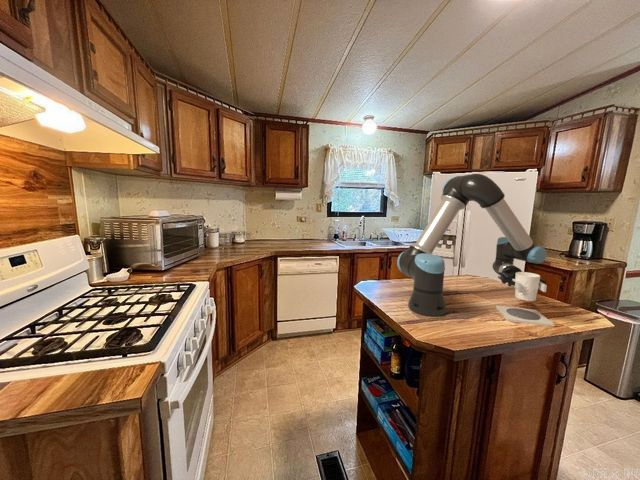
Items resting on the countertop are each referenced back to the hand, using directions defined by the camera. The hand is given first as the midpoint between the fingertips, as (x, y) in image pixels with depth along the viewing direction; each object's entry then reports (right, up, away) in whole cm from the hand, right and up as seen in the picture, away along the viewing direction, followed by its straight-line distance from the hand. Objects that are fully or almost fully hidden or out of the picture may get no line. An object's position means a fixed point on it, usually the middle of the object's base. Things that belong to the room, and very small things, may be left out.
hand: (532, 287), depth 101 cm
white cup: (+2, -6, +5) cm, 8 cm away
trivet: (+1, -13, +6) cm, 14 cm away
